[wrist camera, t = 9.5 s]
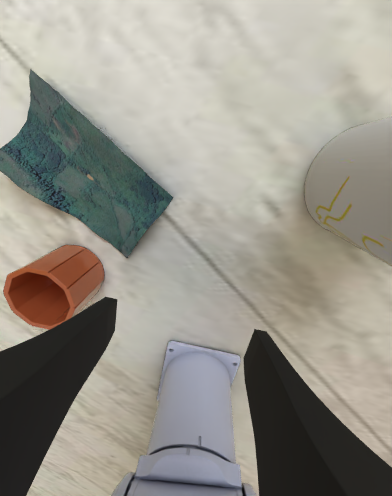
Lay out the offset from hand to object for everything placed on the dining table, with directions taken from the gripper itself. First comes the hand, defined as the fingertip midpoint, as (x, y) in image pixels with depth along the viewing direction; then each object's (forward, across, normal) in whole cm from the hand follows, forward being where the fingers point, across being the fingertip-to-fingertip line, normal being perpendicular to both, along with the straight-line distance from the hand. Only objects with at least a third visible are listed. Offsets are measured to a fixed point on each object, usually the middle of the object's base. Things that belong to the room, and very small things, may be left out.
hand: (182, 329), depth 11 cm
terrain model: (+10, +10, -5) cm, 15 cm away
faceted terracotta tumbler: (+9, +11, +4) cm, 15 cm away
